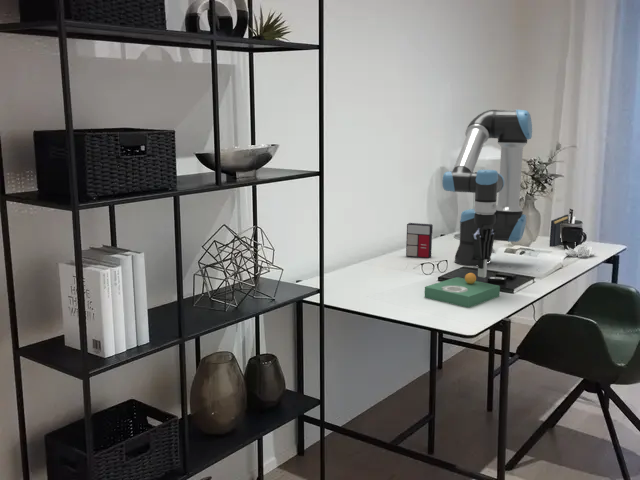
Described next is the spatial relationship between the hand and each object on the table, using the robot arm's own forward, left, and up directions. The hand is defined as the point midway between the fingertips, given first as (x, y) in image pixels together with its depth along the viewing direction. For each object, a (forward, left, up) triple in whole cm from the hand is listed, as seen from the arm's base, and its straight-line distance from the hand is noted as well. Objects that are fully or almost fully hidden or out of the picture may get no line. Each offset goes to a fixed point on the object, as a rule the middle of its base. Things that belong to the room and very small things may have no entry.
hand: (482, 276), depth 243 cm
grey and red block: (-51, +30, -6) cm, 60 cm away
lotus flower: (+4, +74, -6) cm, 74 cm away
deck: (0, -13, -5) cm, 14 cm away
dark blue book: (-15, +95, -6) cm, 96 cm away
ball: (0, -8, +1) cm, 8 cm away
